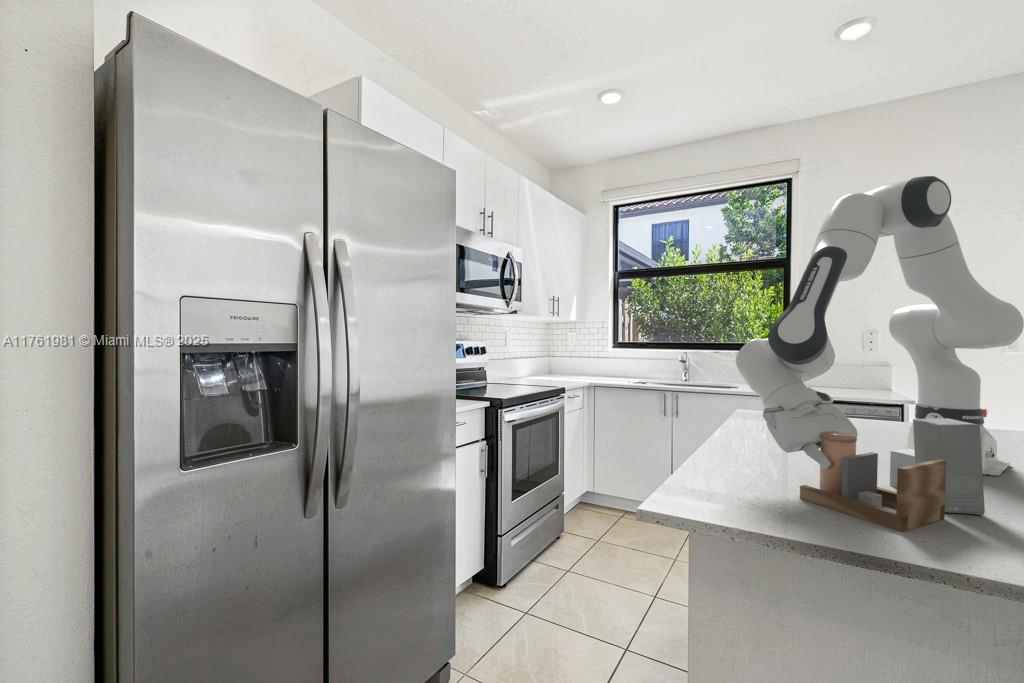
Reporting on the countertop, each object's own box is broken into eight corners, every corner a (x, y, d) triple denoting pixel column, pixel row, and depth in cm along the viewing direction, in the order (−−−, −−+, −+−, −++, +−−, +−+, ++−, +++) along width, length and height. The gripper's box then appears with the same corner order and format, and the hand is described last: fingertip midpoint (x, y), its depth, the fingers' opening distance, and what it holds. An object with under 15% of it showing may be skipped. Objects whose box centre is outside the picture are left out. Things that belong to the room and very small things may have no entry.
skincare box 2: (985, 516, 84) (988, 425, 84) (938, 513, 86) (940, 423, 86) (952, 500, 93) (954, 416, 92) (909, 497, 94) (911, 415, 94)
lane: (840, 489, 99) (841, 439, 98) (944, 518, 83) (946, 460, 83) (799, 498, 93) (800, 446, 93) (903, 531, 78) (904, 469, 77)
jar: (830, 489, 97) (831, 430, 97) (862, 498, 92) (863, 435, 92) (812, 493, 94) (813, 432, 94) (843, 503, 89) (845, 438, 89)
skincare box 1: (908, 482, 103) (909, 448, 103) (941, 491, 98) (942, 455, 98) (888, 485, 101) (889, 450, 101) (921, 495, 96) (922, 457, 95)
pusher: (870, 499, 92) (871, 452, 92) (891, 505, 89) (892, 456, 89) (841, 507, 88) (842, 457, 88) (861, 513, 85) (862, 462, 85)
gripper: (769, 399, 94) (818, 462, 86) (834, 393, 103) (884, 450, 95) (748, 418, 98) (794, 480, 90) (812, 411, 107) (859, 467, 99)
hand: (841, 465), depth 92 cm, fingers closed on jar, 6 cm apart
